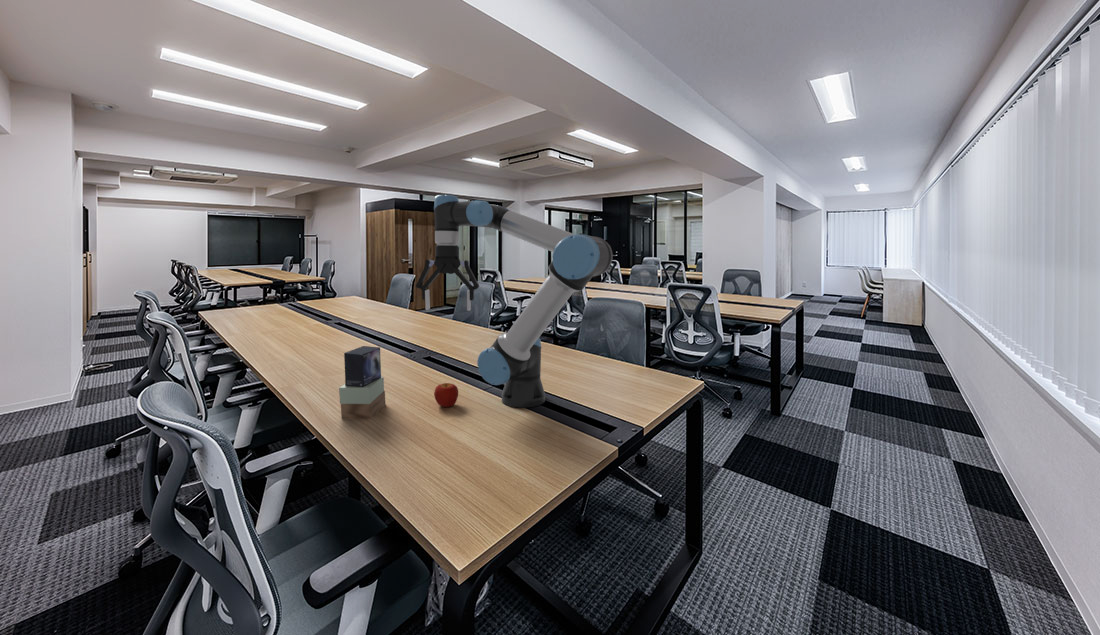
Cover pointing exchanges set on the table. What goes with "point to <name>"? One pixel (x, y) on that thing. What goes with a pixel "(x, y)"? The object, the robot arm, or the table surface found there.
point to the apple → (446, 394)
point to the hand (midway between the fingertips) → (448, 310)
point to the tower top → (361, 393)
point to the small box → (362, 366)
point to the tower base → (363, 408)
